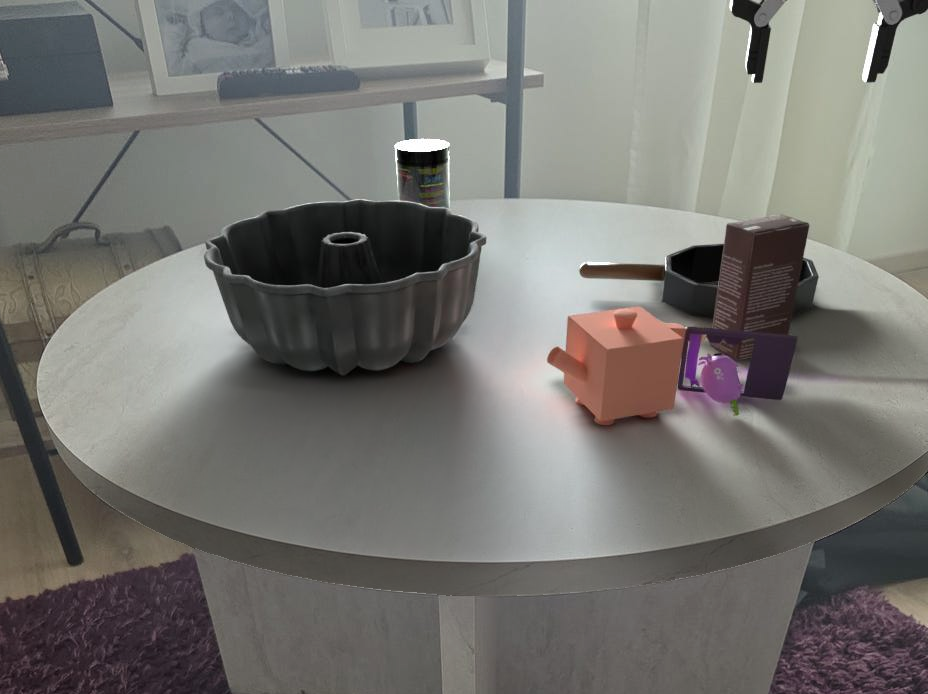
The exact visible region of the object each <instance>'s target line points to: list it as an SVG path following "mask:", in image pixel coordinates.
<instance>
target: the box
mask: <svg viewBox="0 0 928 694" xmlns="http://www.w3.org/2000/svg"><path fill="white" fill-rule="evenodd" d="M810 227H811V226H810V224H809V222H807V221H803V220H800V219H797V218H794V217H792V216H787V215H785V214H782V213H777V214H772V215H771V214H770V215H767V216H761V217H756V218H750V219H745V220H739V221H734V222H727V223H726V225H725V234H724V241H723V244H724V248H723V254H722V262H721V269H720V277H719V282H718V284H717V286H718V291H717V298H716V306H715V313H714V319H712V321H713V322H712V327H711V328H714V329H726V330H738V331H750V332H762V333H774V334H786V335H790V328H791V323H792V318H793V317H792V313H793V308H794V302H795V298H796V293H797V288H798V282H799V277H800V271H801V266H802V262H803V257H804V256H805V250H806V246H807V241H808V235H809V231H810ZM754 342H755V339H750V338H743V339H742V340H741V341H740V342H739V343H738V344H737V345H730V344H726V342H725V340H724V339H723V340H722V341H721V342H720V343H719V344H718V343H709V346H710V347H712V348H714V349H715V350H716V351H719V353H722V354H723V355H724V356H727V357H729V358H731V359H732V360H733V361H739V360H744V359H751V356H752V351H753V346H754Z"/></svg>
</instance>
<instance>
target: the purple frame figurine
mask: <svg viewBox="0 0 928 694" xmlns="http://www.w3.org/2000/svg"><path fill="white" fill-rule="evenodd" d="M685 328H686V333H685V339H684V345H683V350H682V356H681V362H680V368H679V375H678V382H677V390H679V391H685V392H693V393H694V392H695V393H703V394H704V393H705V394H706V395H707V396H708V397H709V398H710V399H711V400H713V401H714V402H717V403H721V404H730V408H732V409H731V412H733V415H732V416H733V417H738V416H739V414H740V411H739V406H738V405H739V404H738V402H737V400H738V399H739V398H740V397H745V398H756V399H766V400H775V401H781V400H783V398H784V394H785V392H786V391H785V390H786V387H787V383H788V379H789V375H790V372H791V368H792V365H793V360H794V357H795V353H796V349H797V345H798V342H799V336H798V335H796V334H788V335H786V334H774V333H762V332H750V331H738V330H726V329H714V328H712V327H702V326H701V327H700V326H690V325H688V326H685ZM706 338H707V341H708V343H709V344H710V343H718V344H719V343H720V342H721V341H722V340H723V339H724V340H725V342H726V344H730V345H737V344H738V343H739V342H740V341H741V340H742V339H743V338H750V339H755V342H754V346H753V351H752V356H751V357H750V361H749V365H748V370H747V375H746V379H745V383H744V384H743V383H741V381H740V378H739V371H738V367H740V365H741V364H739V363H736V362H735V360H734V359H732V358H731V357H729V356H727V355H725V354H723V353H722V352H718V353H714V354H713V356H711V353H707V354H706V355H707V356H701V357H699V352H700V348H701V345H702V344H701V343H702V342H703V341H705V340H706ZM698 358H699V359H698ZM698 361H700V362H699V363H698ZM702 365H703V367H702V370H701V372H700V382H699V379H697V378H696V377H697V370H698V369H697V368H698V366H702ZM684 378H685V379H687V380H689V382H690V385H687V384H685V385H684ZM700 384H701V386H700ZM694 385H696V386H694ZM742 388H744V390H742Z"/></svg>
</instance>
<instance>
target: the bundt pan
mask: <svg viewBox="0 0 928 694" xmlns="http://www.w3.org/2000/svg"><path fill="white" fill-rule="evenodd" d="M479 229H480V227H479V223H478V222H476V220H474V219H472V218H470V217H467V216H465V215H460V214H455V213H453V212H452V211H451V208H450V209H448V208H436V207H428V206H426V205H423V204H419V203H414V202H408V201H398V200H377V201H376V200H369V199H363V198H356V199H353V200H352V199H351V200H346V201H315V202H308V203H303V204H298V205H293V206H290V207H287V208H284V209H274V210H272V209H271V210H264V211H263V212H261V213H259V214H258V215H256V216H254V217H248V218H245V219H241V220H238V221H237V220H236V221H235V222H232V223H230V224H228V225H226V226H224V227H223V228H222V229H221V230H220V232H219V234H218V235H217V236H215V237H212V238H209V239H207V240H205V242H204V243H205V247H206V251H205V252H204V255H203V259H204V264H205V267H207V268H208V269H209V270H210V271H212V273H213V276H214V279H215V281H216V284H217V287H218V290H219V293H220V297H221V299H222V301H223V305H224V307H225V310H226V313H227V315H228V319H229V321H230V323H231V326H232V327H233V329H234V331H235V333H236V334H237V335H238V336H239V337H240V338H241V339H242V340H243V341H244V342H245V343H246V344H248V345H249V346H251V348H252V349H253V350H254V352H255V353H256V354H257V355H258V356H259V357H260V358H262V359H263V360H265V361H267V362H268V363H272V364H276V365H289V366H291V367H292V368H293V369H294V368H295V369H297V370H299V371H305V372H316V371H321V370H325V369H326V368H329V369H331V370H332V371H334V372H335V373H337V374H338V375H340V376H346V375H348V374H349V373H350V372H351V371H352V370H354V369H355V368H357V367H360V368H362V369H364V370H367V371H368V370H369V371H383V370H387V369H390V368H391V367H394V366H395V365H397V364H398V363H399V362H400V361H401V362H405V363H407V364H414V363H418V362H420V361H423V360H424V359H425V358H426V357H428V355H429V354H430V352H431V351H433V350H436V349H439V348H441V347H443V346H444V345H446V344H447V343H448V342H450V341H451V340H452V339H453V338H455V336H456V334H457V333H458V332H459V330H460V329H461V326H462V324H464V322H465V321H466V320H467V318H468V316H469V314H470V312H471V310H472V308H473V305H474V301H475V295H476V289H477V288H476V287H477V282H478V274H479V268H480V261H481V252H482V247H483V246H485V245H486V244H487V235H485V234H482V233H480V232H479Z"/></svg>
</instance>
